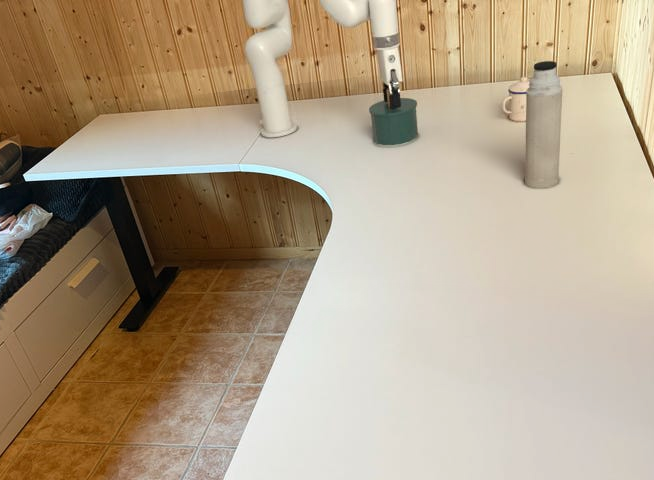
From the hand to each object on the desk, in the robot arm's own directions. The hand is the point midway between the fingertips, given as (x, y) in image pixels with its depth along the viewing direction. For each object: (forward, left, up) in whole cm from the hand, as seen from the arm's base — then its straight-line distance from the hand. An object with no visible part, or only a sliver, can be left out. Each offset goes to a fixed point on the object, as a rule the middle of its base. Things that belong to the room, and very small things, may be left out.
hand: (392, 103), depth 201 cm
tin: (0, 0, -11) cm, 11 cm away
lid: (0, 0, -1) cm, 1 cm away
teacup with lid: (+25, +29, -11) cm, 40 cm away
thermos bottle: (+57, -8, -11) cm, 59 cm away
